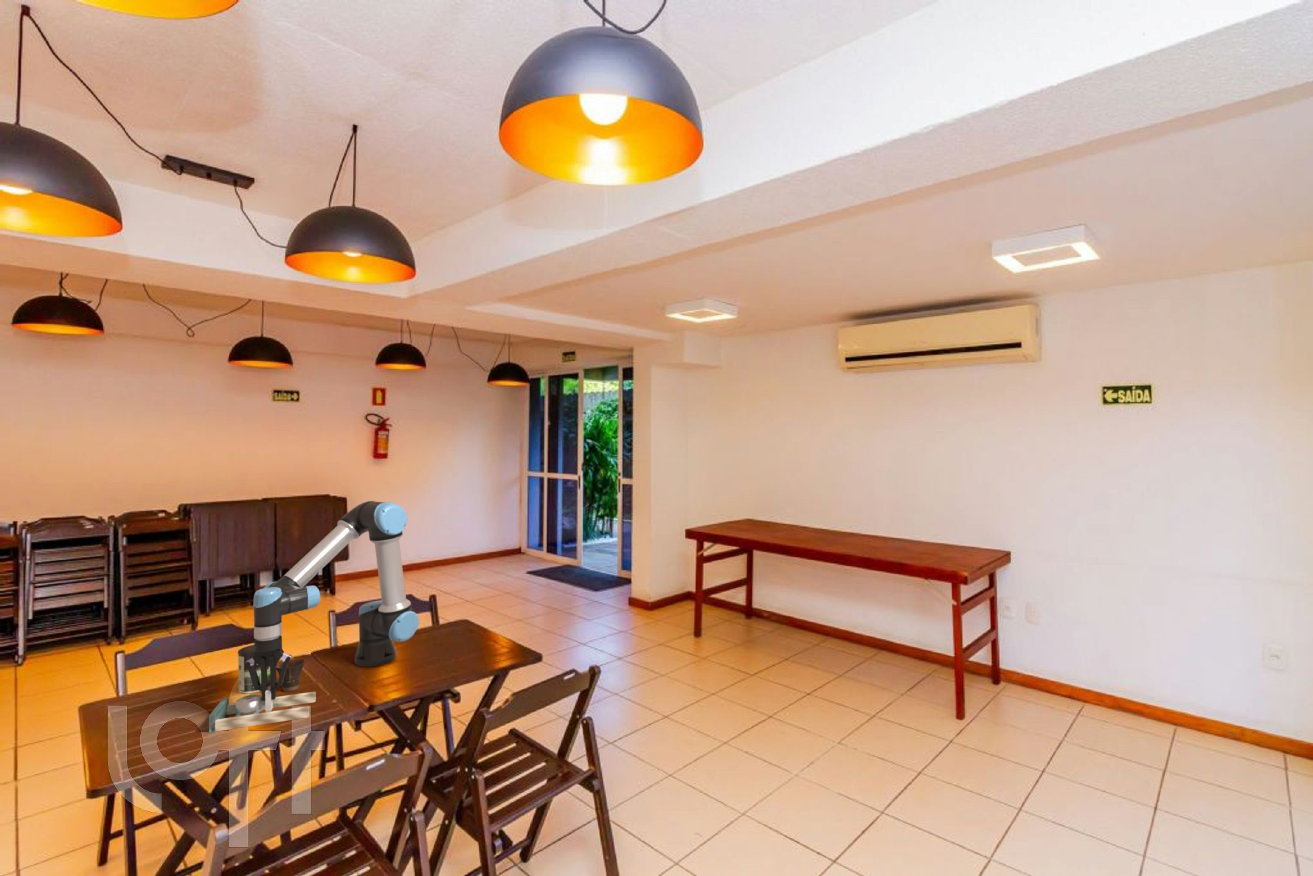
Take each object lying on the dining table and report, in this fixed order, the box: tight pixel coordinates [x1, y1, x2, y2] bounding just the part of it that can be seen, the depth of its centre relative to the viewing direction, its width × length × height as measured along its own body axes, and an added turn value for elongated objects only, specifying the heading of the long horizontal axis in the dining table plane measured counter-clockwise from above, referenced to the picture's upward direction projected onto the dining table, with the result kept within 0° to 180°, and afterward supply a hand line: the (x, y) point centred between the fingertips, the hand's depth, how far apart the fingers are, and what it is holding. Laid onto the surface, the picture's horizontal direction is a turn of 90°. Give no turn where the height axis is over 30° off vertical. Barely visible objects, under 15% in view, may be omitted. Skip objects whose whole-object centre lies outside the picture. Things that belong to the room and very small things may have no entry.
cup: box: [276, 658, 306, 693], centre depth 212 cm, size 9×9×10 cm
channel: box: [208, 691, 317, 733], centre depth 193 cm, size 26×13×5 cm, turn 111°
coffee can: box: [237, 644, 270, 695], centre depth 214 cm, size 10×10×14 cm
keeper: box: [235, 693, 263, 717], centre depth 191 cm, size 7×7×6 cm
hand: (269, 709), depth 193 cm, fingers closed
